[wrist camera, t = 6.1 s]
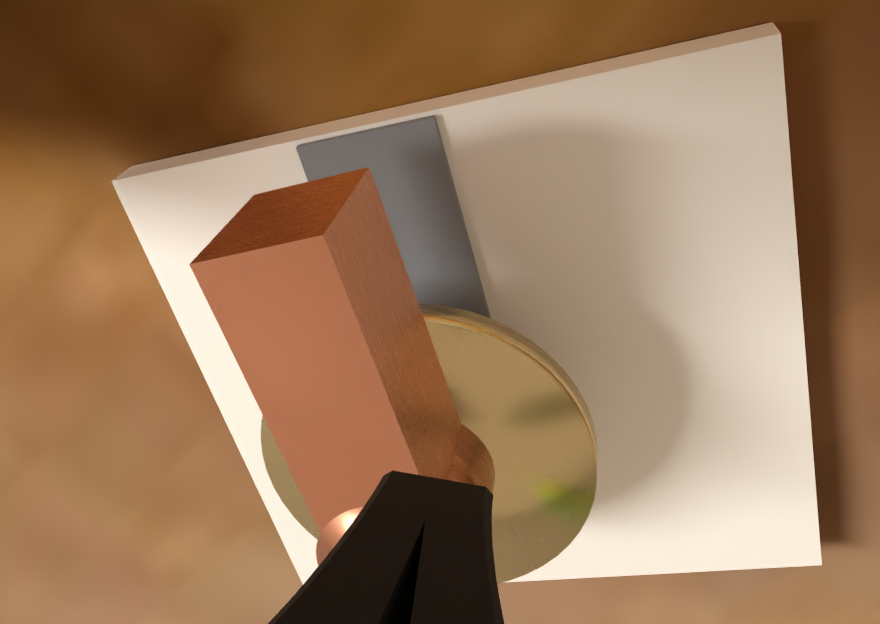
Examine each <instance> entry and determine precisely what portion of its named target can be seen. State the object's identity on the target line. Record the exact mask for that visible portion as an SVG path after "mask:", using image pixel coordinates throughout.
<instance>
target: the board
mask: <svg viewBox="0 0 880 624" xmlns="http://www.w3.org/2000/svg"><path fill="white" fill-rule="evenodd" d="M367 167H370V170H371V173H372V175H373V178H374V181H375V184H376V187H377V189H378V192H379V195H380V198H381V200H382V203H383V206H384V209H385V212H386V214H387V217H388V220H389V223H390V226H391V228H392V231H393V234H394V237H395V240H396V242H397V245H398V248H399V251H400V254H401V256H402V259H403V262H404V265H405V268H406V270H407V273H408V276H409V279H410V282H411V284H412V287H413V290H414V293H415V296H416V298H417V301H418V303H428V304H437V305H446V306H450V307H454V308H459V309H463V310H468V311H471V312H474V313H477V314H480V315H483V316H485V317H488V318H491V319H493V320H495V321H498V322H500V323H502V324H504V325H506V326H508V327H510V328H512V329H514V330H516V331H517V332H519V333H520V334H522V335H524V336H525V337H527V338H528V339H530V340H531V341H533V342H534V343H535V344H537V345H538V346H539V347H540V348H542V349H543V350H544V351H545V352H547V353H548V354H549V355H550V356H551V357H552V358H553V359H554V360H555V361H556V362H557V363H558V364H559V365H560V366H561V367H562V368H563V369H564V370H565V371H566V373H567V374H568V375H569V377H570V378H571V379H572V381H573V382H574V384H575V385H576V386H577V388H578V389H579V391H580V393H581V395H582V397H583V399H584V400H585V402H586V404H587V406H588V409H589V412H590V414H591V417H592V420H593V423H594V428H595V433H596V438H597V485H596V492H595V498H594V502H593V505H592V508H591V511H590V514H589V516H588V518H587V520H586V522H585V524H584V525H583V527H582V529H581V531H580V532H579V534H578V535H577V536H576V537H575V539H574V540H573V541H572V542H571V544H570V545H569V546H568V547H567V548H565V549H564V550H563V551H562V552H561V553H560V554H559V555H558V556H557V557H555V558H554V559H552V560H551V561H549V562H548V563H546V564H545V565H544V566H542V567H540V568H538V569H536V570H534V571H532V572H530V573H528V574H526V575H523V576H521V577H518V578H515V579H512V580H510V581H506V582H519V581H537V580H556V579H574V578H593V577H611V576H630V575H648V574H667V573H685V572H704V571H722V570H741V569H759V568H778V567H796V566H815V565H822V561H821V548H820V535H819V522H818V508H817V495H816V482H815V469H814V456H813V443H812V430H811V417H810V404H809V391H808V378H807V365H806V352H805V339H804V326H803V313H802V300H801V287H800V274H799V261H798V248H797V235H796V222H795V209H794V196H793V183H792V170H791V157H790V144H789V131H788V118H787V105H786V92H785V78H784V65H783V52H782V39H781V33H780V31H779V30H778V29H777V27H776V26H775V25H774V23H773V22H771V23H766V24H762V25H758V26H753V27H749V28H744V29H740V30H735V31H731V32H726V33H722V34H717V35H713V36H709V37H704V38H700V39H695V40H691V41H686V42H682V43H677V44H673V45H669V46H664V47H660V48H655V49H651V50H646V51H642V52H637V53H633V54H628V55H624V56H620V57H615V58H611V59H606V60H602V61H597V62H593V63H588V64H584V65H579V66H575V67H571V68H566V69H562V70H557V71H553V72H548V73H544V74H539V75H535V76H531V77H526V78H522V79H517V80H513V81H508V82H504V83H499V84H495V85H490V86H486V87H482V88H477V89H473V90H468V91H464V92H459V93H455V94H450V95H446V96H442V97H437V98H433V99H428V100H424V101H419V102H415V103H410V104H406V105H401V106H397V107H393V108H388V109H384V110H379V111H375V112H370V113H366V114H361V115H357V116H352V117H348V118H344V119H339V120H335V121H330V122H326V123H321V124H317V125H312V126H308V127H304V128H299V129H295V130H290V131H286V132H281V133H277V134H272V135H268V136H263V137H259V138H255V139H250V140H246V141H241V142H237V143H232V144H228V145H223V146H219V147H214V148H210V149H206V150H201V151H197V152H192V153H188V154H183V155H179V156H174V157H170V158H166V159H161V160H157V161H152V162H148V163H143V164H139V165H134V166H131V167H130V168H128V169H127V170H126V171H124V172H123V173H122V174H120V175H119V176H118V177H116V178H115V179H114V180H112V181H111V182H112V184H113V186H114V188H115V190H116V192H117V194H118V196H119V198H120V201H121V203H122V205H123V207H124V209H125V211H126V213H127V215H128V217H129V220H130V222H131V224H132V226H133V228H134V230H135V232H136V234H137V236H138V238H139V241H140V243H141V245H142V247H143V249H144V251H145V253H146V255H147V257H148V260H149V262H150V264H151V266H152V268H153V270H154V272H155V274H156V276H157V278H158V281H159V283H160V285H161V287H162V289H163V291H164V293H165V295H166V297H167V299H168V302H169V304H170V306H171V308H172V310H173V312H174V314H175V316H176V318H177V321H178V323H179V325H180V327H181V329H182V331H183V333H184V335H185V337H186V339H187V342H188V344H189V346H190V348H191V350H192V352H193V354H194V356H195V358H196V360H197V363H198V365H199V367H200V369H201V371H202V373H203V375H204V377H205V379H206V382H207V384H208V386H209V388H210V390H211V392H212V394H213V396H214V398H215V400H216V403H217V405H218V407H219V409H220V411H221V413H222V415H223V417H224V419H225V421H226V424H227V426H228V428H229V430H230V432H231V434H232V436H233V438H234V440H235V443H236V445H237V447H238V449H239V451H240V453H241V455H242V457H243V459H244V461H245V464H246V466H247V468H248V470H249V472H250V474H251V476H252V478H253V480H254V482H255V485H256V487H257V489H258V491H259V493H260V495H261V497H262V499H263V501H264V504H265V506H266V508H267V510H268V512H269V514H270V516H271V518H272V520H273V522H274V525H275V527H276V529H277V531H278V533H279V535H280V537H281V539H282V541H283V544H284V546H285V548H286V550H287V552H288V554H289V556H290V558H291V560H292V562H293V565H294V567H295V569H296V571H297V573H298V575H299V577H300V579H301V581H302V583H303V584H304V583H305V582H306V581H307V579H308V578H309V577H310V576H311V575H312V573H313V572H314V571H315V570H316V569H317V567H318V563H317V559H316V545H317V541H318V540H317V539H316V538H315V537H314V536H312V535H311V534H310V533H309V532H308V531H307V530H306V529H305V528H304V527H303V526H302V525H301V524H300V523H299V522H298V521H297V520H296V519H295V518H294V517H293V515H292V514H291V513H290V511H289V510H288V509H287V508H286V506H285V505H284V504H283V502H282V501H281V499H280V497H279V495H278V494H277V492H276V490H275V489H274V487H273V484H272V482H271V480H270V477H269V475H268V473H267V470H266V466H265V463H264V459H263V455H262V447H261V438H260V437H261V420H262V416H263V414H262V412H261V410H260V408H259V406H258V404H257V402H256V400H255V398H254V396H253V394H252V392H251V390H250V388H249V386H248V384H247V382H246V380H245V378H244V376H243V373H242V371H241V369H240V367H239V365H238V363H237V361H236V359H235V357H234V355H233V353H232V351H231V349H230V347H229V345H228V343H227V341H226V339H225V337H224V335H223V332H222V330H221V328H220V326H219V324H218V322H217V320H216V318H215V316H214V314H213V312H212V310H211V308H210V306H209V304H208V302H207V300H206V298H205V296H204V294H203V292H202V289H201V287H200V285H199V283H198V281H197V279H196V277H195V275H194V273H193V271H192V269H191V267H190V265H189V264H190V263H191V262H192V261H193V260H194V259H195V258H196V257H197V255H198V254H199V253H200V252H201V251H202V250H203V249H204V248H205V247H206V246H207V245H208V244H209V243H210V242H211V240H212V239H213V238H214V237H215V236H216V235H217V234H218V233H219V232H220V231H221V230H222V229H223V228H224V226H225V225H226V224H227V223H228V222H229V221H230V220H231V219H232V218H233V217H234V216H235V215H236V214H237V213H238V211H239V210H240V209H241V208H242V207H243V206H244V205H245V204H246V203H247V202H248V201H249V200H250V199H251V197H252V196H253V195H255V194H259V193H263V192H268V191H272V190H276V189H280V188H284V187H288V186H292V185H297V184H301V183H305V182H309V181H313V180H317V179H321V178H325V177H330V176H334V175H338V174H342V173H346V172H350V171H354V170H358V169H363V168H367Z"/></svg>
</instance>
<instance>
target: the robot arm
mask: <svg viewBox="0 0 880 624" xmlns="http://www.w3.org/2000/svg"><path fill="white" fill-rule="evenodd" d="M493 496H494V495H493V494H492V493H491V492H490V491H489V489H488V488H487V487H485V486H479V485H473V484H467V483H462V482H456V481H450V480H445V479H439V478H433V477H427V476H422V475H416V474H410V473H405V472H399V471H393V470H392V471H390V472H389V473H387V474H385V475H384V476H383V477H382V479H381V480H380V482H379V484H378V486H377V487H376V489H375V490H374V492H373V494H372V495H371V497H370V498H369V500H368V501H367V503H366V504H365V506H364V507H363V509H362V510H361V511H360V513H359V514H358V516H357V517H356V518H355V520H354V521H353V523H352V524H351V525H350V527H349V528H348V529H347V531H346V532H345V533H344V535H343V536H342V537H341V539H340V540H339V541H338V543H337V544H336V545H335V546H334V548H333V549H332V550H331V551H330V553H329V554H328V555H327V556H326V558H325V559H324V560H323V561H322V562H321V564H320V565H319V566H318V567H317V569H316V570H315V571H314V572H313V573H312V575H311V576H310V577H309V578H308V579H307V581H306V582H305V583H304V584H303V586H302V587H301V588H300V589H299V590H298V591H297V593H296V594H295V595H294V596H293V597H292V598H291V599H290V601H289V602H288V603H287V604H286V605H285V606H284V607H283V608H282V609H281V610H280V611H279V613H278V614H277V615H276V616H275V617H274V618H273V619H272V620H271V621H270V622H269V623H268V624H504V621H503V615H502V610H501V605H500V599H499V593H498V587H497V580H496V572H495V563H494V554H493V542H492V504H493Z"/></svg>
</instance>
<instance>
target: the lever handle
mask: <svg viewBox="0 0 880 624" xmlns="http://www.w3.org/2000/svg"><path fill="white" fill-rule="evenodd" d="M189 265H190V267H191V269H192V271H193V273H194V275H195V277H196V279H197V281H198V283H199V285H200V287H201V289H202V292H203V294H204V296H205V298H206V300H207V302H208V304H209V306H210V308H211V310H212V312H213V314H214V316H215V318H216V320H217V322H218V324H219V326H220V328H221V330H222V332H223V335H224V337H225V339H226V341H227V343H228V345H229V347H230V349H231V351H232V353H233V355H234V357H235V359H236V361H237V363H238V365H239V367H240V369H241V371H242V373H243V376H244V378H245V380H246V382H247V384H248V386H249V388H250V390H251V392H252V394H253V396H254V398H255V400H256V402H257V404H258V406H259V408H260V410H261V412H262V414H263V416H262V420H261V437H260V438H261V447H262V455H263V459H264V463H265V466H266V470H267V473H268V475H269V477H270V480H271V482H272V484H273V487H274V489H275V490H276V492H277V494H278V495H279V497H280V499H281V501H282V502H283V504H284V505H285V506H286V508H287V509H288V510H289V511H290V513H291V514H292V515H293V517H294V518H295V519H296V520H297V521H298V522H299V523H300V524H301V525H302V526H303V527H304V528H305V529H306V530H307V531H308V532H309V533H310V534H311V535H312V536H314V537H315V538H316V539H317V540H318V541H317V545H316V559H317V563H318V566H319V565H320V564H321V562H322V561H323V560H324V559H325V558H326V556H327V555H328V554H329V553H330V551H331V550H332V549H333V548H334V546H335V545H336V544H337V543H338V541H339V540H340V539H341V537H342V536H343V535H344V533H345V532H346V531H347V529H348V528H349V527H350V525H351V524H352V523H353V521H354V520H355V518H356V517H357V516H358V514H359V513H360V511H361V510H362V509H363V507H364V506H365V504H366V503H367V501H368V500H369V498H370V497H371V495H372V494H373V492H374V490H375V489H376V487H377V486H378V484H379V482H380V480H381V479H382V477H383V476H384V475H385V474H387V473H389V472H390V471H392V470H393V471H399V472H405V473H410V474H416V475H422V476H427V477H433V478H439V479H445V480H450V481H456V482H462V483H467V484H473V485H479V486H485V487H487V488H488V489H489V491H490V492H491V493H492V494H493V495H494V496H493V504H492V542H493V554H494V563H495V572H496V580H497V583H502V582H506V581H510V580H512V579H515V578H518V577H521V576H523V575H526V574H528V573H530V572H532V571H534V570H536V569H538V568H540V567H542V566H544V565H545V564H546V563H548V562H549V561H551V560H552V559H554V558H555V557H557V556H558V555H559V554H560V553H561V552H562V551H563V550H564V549H565V548H567V547H568V546H569V545H570V544H571V542H572V541H573V540H574V539H575V537H576V536H577V535H578V534H579V532H580V531H581V529H582V527H583V525H584V524H585V522H586V520H587V518H588V516H589V514H590V511H591V508H592V505H593V502H594V498H595V492H596V485H597V438H596V433H595V428H594V423H593V420H592V417H591V414H590V412H589V409H588V406H587V404H586V402H585V400H584V399H583V397H582V395H581V393H580V391H579V389H578V388H577V386H576V385H575V384H574V382H573V381H572V379H571V378H570V377H569V375H568V374H567V373H566V371H565V370H564V369H563V368H562V367H561V366H560V365H559V364H558V363H557V362H556V361H555V360H554V359H553V358H552V357H551V356H550V355H549V354H548V353H547V352H545V351H544V350H543V349H542V348H540V347H539V346H538V345H537V344H535V343H534V342H533V341H531V340H530V339H528V338H527V337H525V336H524V335H522V334H520V333H519V332H517V331H516V330H514V329H512V328H510V327H508V326H506V325H504V324H502V323H500V322H498V321H495V320H493V319H491V318H488V317H485V316H483V315H480V314H477V313H474V312H471V311H468V310H463V309H459V308H454V307H450V306H446V305H437V304H428V303H418V301H417V298H416V296H415V293H414V290H413V287H412V284H411V282H410V279H409V276H408V273H407V270H406V268H405V265H404V262H403V259H402V256H401V254H400V251H399V248H398V245H397V242H396V240H395V237H394V234H393V231H392V228H391V226H390V223H389V220H388V217H387V214H386V212H385V209H384V206H383V203H382V200H381V198H380V195H379V192H378V189H377V187H376V184H375V181H374V178H373V175H372V173H371V170H370V167H367V168H363V169H358V170H354V171H350V172H346V173H342V174H338V175H334V176H330V177H325V178H321V179H317V180H313V181H309V182H305V183H301V184H297V185H292V186H288V187H284V188H280V189H276V190H272V191H268V192H263V193H259V194H255V195H253V196H252V197H251V199H250V200H249V201H248V202H247V203H246V204H245V205H244V206H243V207H242V208H241V209H240V210H239V211H238V213H237V214H236V215H235V216H234V217H233V218H232V219H231V220H230V221H229V222H228V223H227V224H226V225H225V226H224V228H223V229H222V230H221V231H220V232H219V233H218V234H217V235H216V236H215V237H214V238H213V239H212V240H211V242H210V243H209V244H208V245H207V246H206V247H205V248H204V249H203V250H202V251H201V252H200V253H199V254H198V255H197V257H196V258H195V259H194V260H193V261H192V262H191V263H190V264H189Z"/></svg>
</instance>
